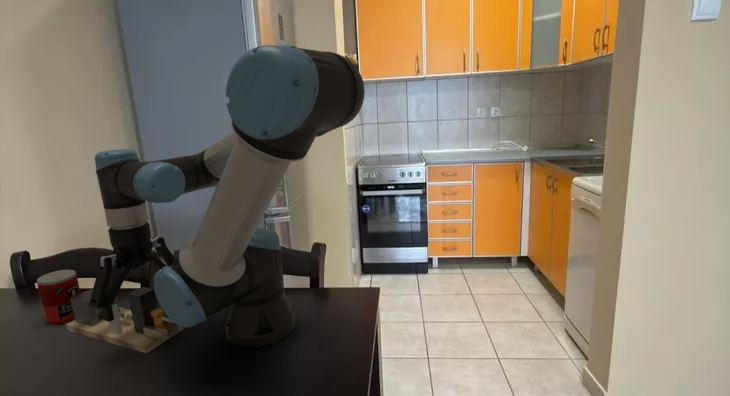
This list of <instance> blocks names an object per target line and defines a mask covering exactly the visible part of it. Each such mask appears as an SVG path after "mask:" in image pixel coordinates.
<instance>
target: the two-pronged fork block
mask: <svg viewBox="0 0 730 396" xmlns="http://www.w3.org/2000/svg"><path fill="white" fill-rule="evenodd" d="M127 296H128V297H127V298H128V302H129V307H130V310H131V313H132V316H131V315H130V314H126V313H123V314H122V313H121V312H119V316H120V317H121V318H122V319H126V320H131V321H133V323H134V328H135V331H136V332H140V333H143V334H144V335H145V336H148V337H152V338H156V339H159V340H163V341H165V342H167V339H168V340H170V338H169V337H168V331H167V330H166V329H169V330H173V331H177V332H178V333H180V332H181V331H183V330H182V326H180V325H178V324H176V323H175V322H173V321H172V320H171V319H170V318H169V317H164V316H162V321H163V326H164V328H165V329H162V328H158V327H155V324H154V318H153V317H152V316H151V311H152V310H154V309H158V304H157V297H156V294H155V291H154V288H151V287H147V286H142V287H139V288H136V289H135V290H132V291H131V292H128V293H127ZM179 331H180V332H179Z"/></svg>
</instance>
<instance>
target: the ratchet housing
mask: <svg viewBox="0 0 730 396" xmlns="http://www.w3.org/2000/svg"><path fill="white" fill-rule="evenodd" d="M92 291H93V288H91V289H89V290H86V291H84V292H81V294H79V295H77V296H75V297H72V298H70V300H71V304H72V308H73V313H74V317H75V321H76V322H78V323H82V324H85V325H89V326H94V325H96V324H98V323H99V319H98V315H97V311H99V312H102V308H96V307H92V306H90V305H89V303H90V299H91V295H92ZM113 303H114V304H117V306H118V311H119V312H120V309H119V307H120V305H119V298H118V295H117V296H116V298H115V300H114V302H113Z"/></svg>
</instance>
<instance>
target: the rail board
mask: <svg viewBox="0 0 730 396" xmlns="http://www.w3.org/2000/svg"><path fill="white" fill-rule="evenodd" d="M119 309H120V312H121V313H122V314H123V313H126V314H130V315H131V316H132V313H131V309H129V308H128V309H127V308H124V307H120V306H119ZM97 315H98V319H99V323H98V324H96V325H94V326H89V325H85V324H82V323H78V322H76V321H75V320H73V321H70V322H67V323H65V327H66V328H65V329H66V330H67V332H72V333H75V334H78V335H81V336H84V337H88V338H93V339H95V340H99V341H101V342H106V343H109V344H113V345H116V346H120V347H123V348H127V349H129V350H133V351H137V352H141V353H142V354H143V353H144V354H148V353H150V352H151V351H152V350H154V349H156V348H157V347H158V346H160V345H162V344H164V343H165V342H166V341H167V340H169V339H171V338H172V337H174V336H175V335H177V334H178V333H180V332H181V331H183V330H185V327H183V326H182V330H181V331H179V332H177V331H173V330H169V329H166V330H167V331H168V337H169V339H167V340H166V341H163V340H159V339H156V338H152V337H148V336H145V335H144V334H143V333H140V332H136V331H135V328H134V323H133V321H131V320H126V319H122V318H121V317H120V321H121V326H122V331H123V333H122V334H120V335H118V334H114V333H111V332H110V327H109V323H108V321H105V320H104V318H103V313H102V312H99V311H97ZM164 329H165V328H164Z"/></svg>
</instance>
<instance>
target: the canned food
mask: <svg viewBox="0 0 730 396" xmlns="http://www.w3.org/2000/svg"><path fill="white" fill-rule="evenodd" d="M36 284H37V289H38V292H39V298H40V301H41V305H42V309H43V312H44V316H45V319H46V322H47V323H48V324H49V325H62V324H68V323H70V322H72V321H74V320H75V317H74V313H73V308H72V304H71V300H70V298H72V297H75V296H77V295H79V294H82V292H81V289H80V285H79V284H80V283H79V279H78V276H77V272H76V270H73V269H61V270H56V271H52V272H48V273H46V274H43V275H41V276H39V277H38V278H37V279H36Z"/></svg>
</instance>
